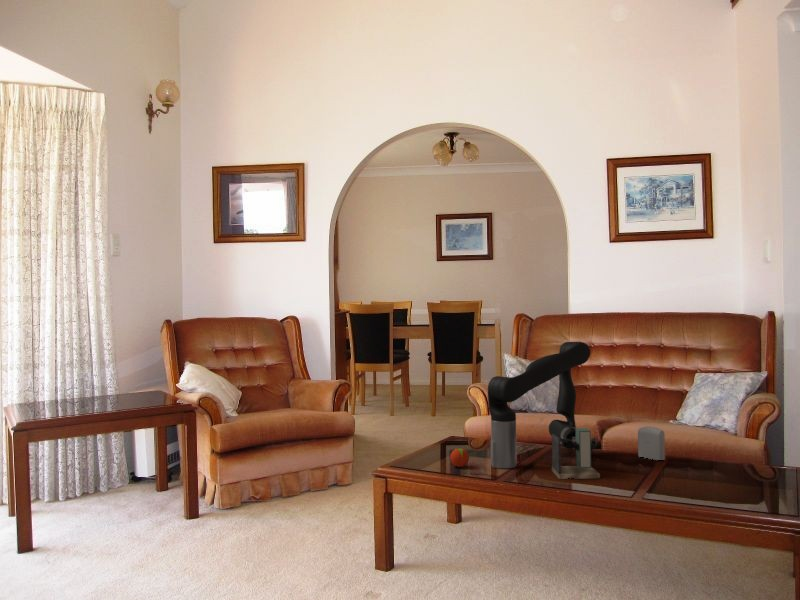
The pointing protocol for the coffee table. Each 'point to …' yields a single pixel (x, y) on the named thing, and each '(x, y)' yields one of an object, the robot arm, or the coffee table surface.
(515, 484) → the coffee table surface
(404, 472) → the coffee table surface
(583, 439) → the tall sage green prism
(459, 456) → the tomato
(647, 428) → the photo printer
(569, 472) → the desktop book rack
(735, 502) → the coffee table surface
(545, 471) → the coffee table surface
